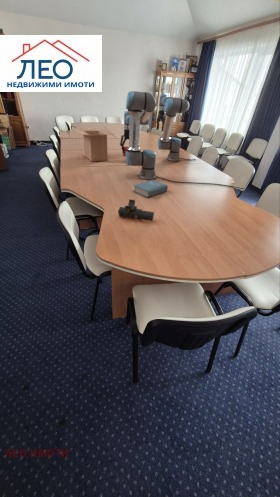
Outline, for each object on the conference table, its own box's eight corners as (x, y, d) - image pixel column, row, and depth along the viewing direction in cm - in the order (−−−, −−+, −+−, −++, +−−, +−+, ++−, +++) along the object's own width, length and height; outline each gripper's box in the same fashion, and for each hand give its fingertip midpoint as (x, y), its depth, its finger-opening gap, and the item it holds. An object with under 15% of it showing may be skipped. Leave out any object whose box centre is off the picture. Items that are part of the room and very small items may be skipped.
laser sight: (151, 224, 136) (153, 209, 130) (116, 219, 138) (116, 204, 132) (153, 217, 143) (155, 203, 137) (120, 212, 146) (120, 198, 140)
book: (152, 185, 190) (153, 179, 187) (167, 191, 181) (167, 185, 178) (133, 191, 176) (133, 185, 173) (147, 198, 167) (148, 191, 164)
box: (118, 161, 240) (118, 134, 224) (86, 164, 225) (83, 135, 209) (104, 152, 270) (103, 127, 254) (74, 153, 255) (72, 127, 239)
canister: (123, 154, 242) (123, 146, 236) (130, 155, 242) (131, 146, 237) (123, 156, 235) (123, 148, 230) (131, 157, 236) (131, 148, 231)
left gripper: (135, 128, 230) (134, 151, 243) (116, 128, 222) (116, 152, 235) (138, 129, 224) (137, 153, 238) (119, 130, 217) (119, 154, 230)
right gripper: (154, 109, 265) (152, 128, 278) (164, 111, 247) (161, 132, 260) (160, 109, 268) (158, 128, 280) (170, 111, 250) (167, 132, 262)
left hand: (127, 152), depth 237 cm, fingers closed on canister, 8 cm apart
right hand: (160, 130), depth 270 cm, fingers open, 13 cm apart
